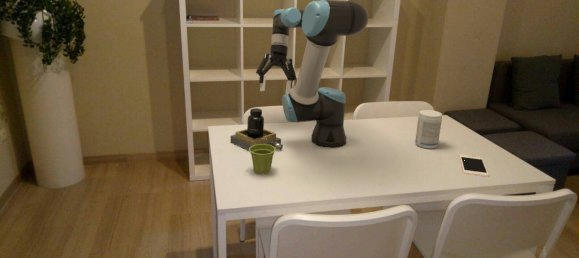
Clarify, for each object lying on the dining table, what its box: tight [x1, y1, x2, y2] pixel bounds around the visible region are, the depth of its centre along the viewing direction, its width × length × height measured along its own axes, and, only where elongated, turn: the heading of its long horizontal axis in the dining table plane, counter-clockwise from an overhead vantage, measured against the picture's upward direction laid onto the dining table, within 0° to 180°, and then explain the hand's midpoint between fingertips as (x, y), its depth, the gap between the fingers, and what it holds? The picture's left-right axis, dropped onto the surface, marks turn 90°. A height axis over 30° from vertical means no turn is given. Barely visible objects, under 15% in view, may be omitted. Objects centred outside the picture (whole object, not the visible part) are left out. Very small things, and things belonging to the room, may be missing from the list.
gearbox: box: [230, 128, 283, 152], centre depth 181 cm, size 20×14×5 cm
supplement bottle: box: [246, 107, 265, 139], centre depth 180 cm, size 7×7×12 cm
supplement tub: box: [414, 109, 443, 150], centre depth 186 cm, size 10×10×15 cm
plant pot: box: [248, 144, 276, 175], centre depth 157 cm, size 9×9×9 cm
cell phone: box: [459, 153, 490, 177], centre depth 170 cm, size 9×18×1 cm, turn 165°
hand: (275, 93), depth 193 cm, fingers open, 13 cm apart
